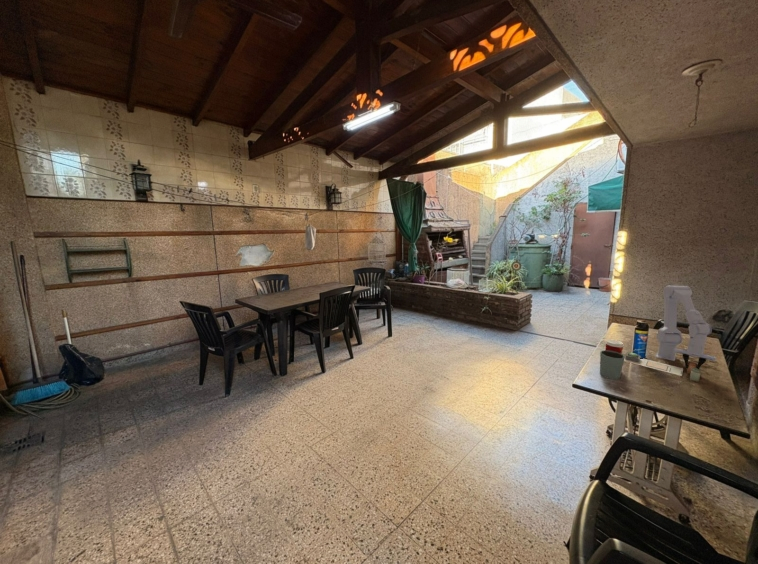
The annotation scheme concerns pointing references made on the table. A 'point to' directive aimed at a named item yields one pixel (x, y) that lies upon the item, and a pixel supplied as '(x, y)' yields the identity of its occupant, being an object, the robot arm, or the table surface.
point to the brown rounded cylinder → (691, 366)
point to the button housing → (633, 358)
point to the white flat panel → (658, 366)
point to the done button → (633, 355)
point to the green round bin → (611, 364)
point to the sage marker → (695, 374)
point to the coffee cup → (614, 346)
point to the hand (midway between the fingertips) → (691, 369)
